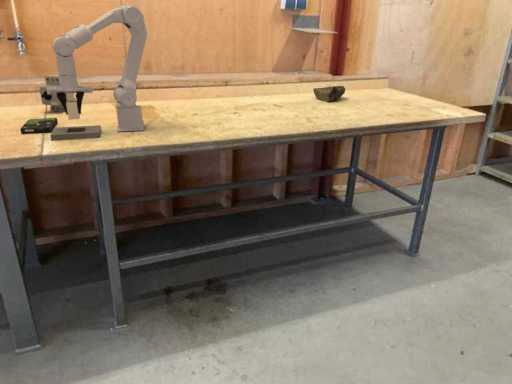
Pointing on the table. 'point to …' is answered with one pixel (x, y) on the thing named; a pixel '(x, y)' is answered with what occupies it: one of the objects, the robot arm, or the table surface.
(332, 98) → the concrete fragment
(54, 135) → the outlet plate
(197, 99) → the table surface
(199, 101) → the table surface
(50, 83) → the circuit breaker
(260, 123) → the table surface
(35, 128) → the disk drive
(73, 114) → the block
